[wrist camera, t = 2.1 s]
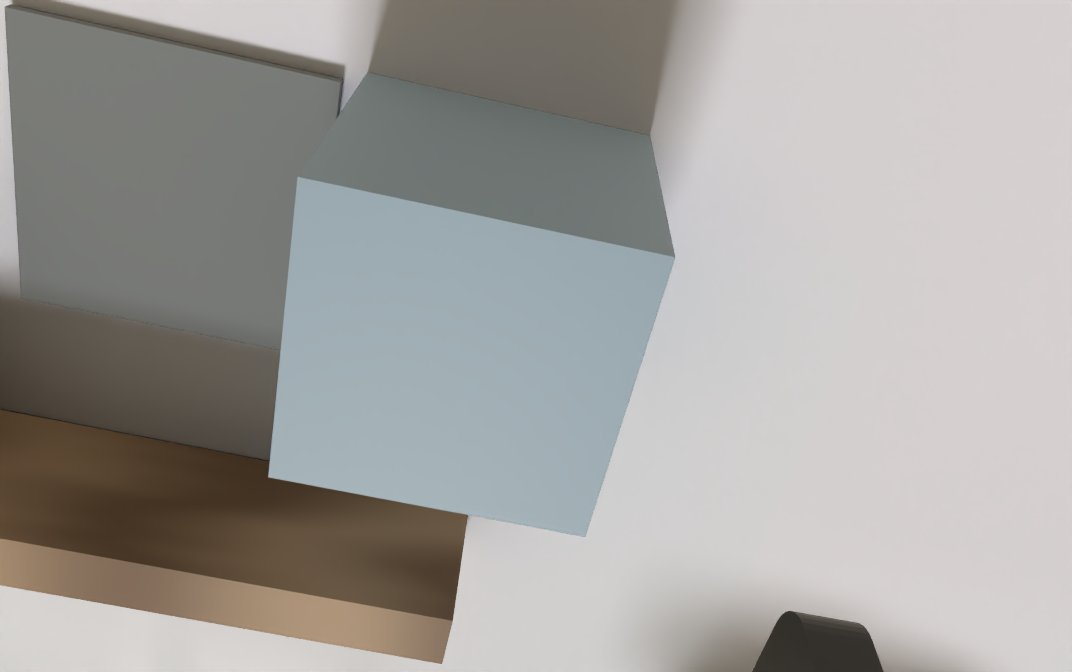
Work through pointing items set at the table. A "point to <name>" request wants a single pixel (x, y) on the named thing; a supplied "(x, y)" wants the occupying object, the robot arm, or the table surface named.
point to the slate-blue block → (467, 304)
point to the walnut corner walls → (221, 540)
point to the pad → (158, 174)
